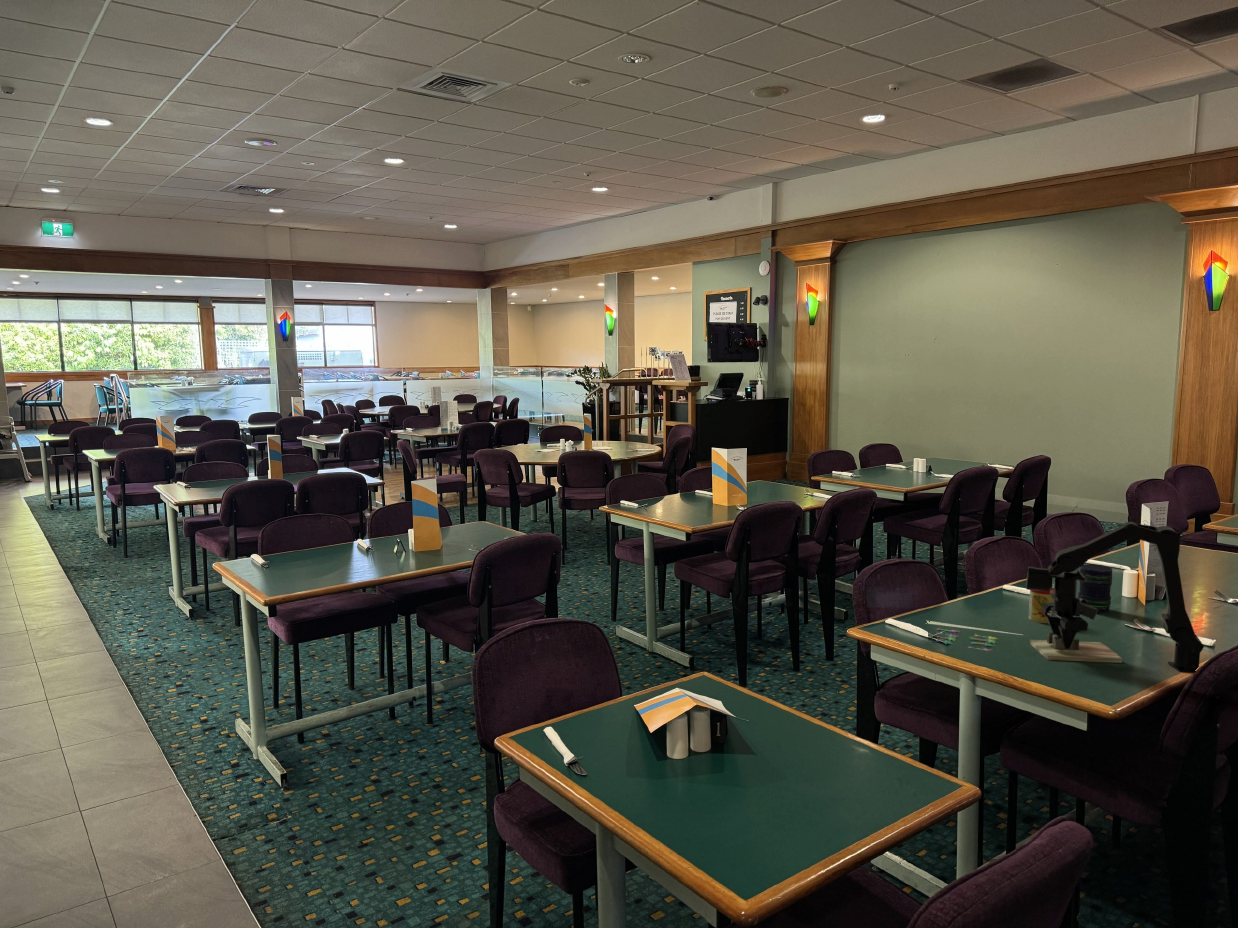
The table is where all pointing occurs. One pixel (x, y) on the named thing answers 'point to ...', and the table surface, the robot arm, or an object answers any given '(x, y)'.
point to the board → (1077, 652)
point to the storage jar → (1096, 586)
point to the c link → (1061, 642)
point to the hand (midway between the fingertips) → (1062, 644)
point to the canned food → (1039, 604)
